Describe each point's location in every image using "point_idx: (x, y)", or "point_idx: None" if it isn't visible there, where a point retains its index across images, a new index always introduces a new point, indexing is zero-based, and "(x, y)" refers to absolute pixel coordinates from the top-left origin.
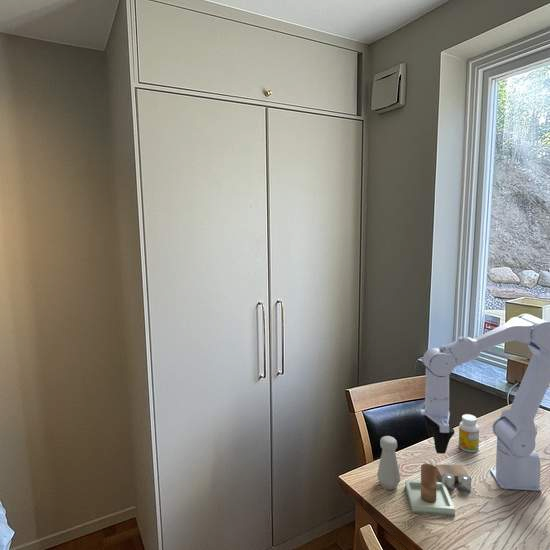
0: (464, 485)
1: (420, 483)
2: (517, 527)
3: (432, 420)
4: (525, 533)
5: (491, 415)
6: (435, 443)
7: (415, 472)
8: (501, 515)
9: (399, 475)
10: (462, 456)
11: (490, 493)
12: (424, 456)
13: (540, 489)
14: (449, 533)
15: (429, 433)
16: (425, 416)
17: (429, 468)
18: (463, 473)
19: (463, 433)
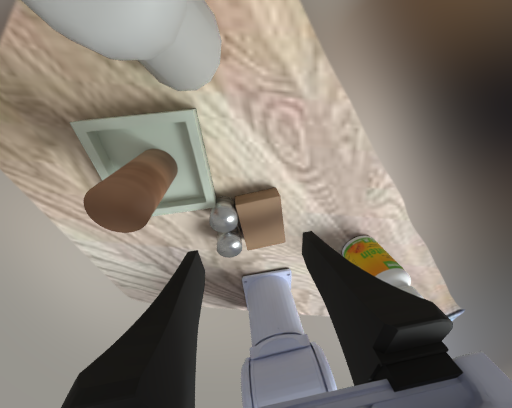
0: (217, 240)
1: (194, 154)
2: (153, 282)
3: (341, 309)
4: (144, 288)
5: (440, 280)
6: (162, 290)
7: (266, 142)
8: (173, 270)
9: (173, 87)
10: (330, 237)
11: (226, 263)
12: (334, 169)
13: (248, 310)
14: (66, 197)
15: (308, 243)
16: (363, 312)
17: (117, 211)
18: (254, 243)
19: (372, 267)
